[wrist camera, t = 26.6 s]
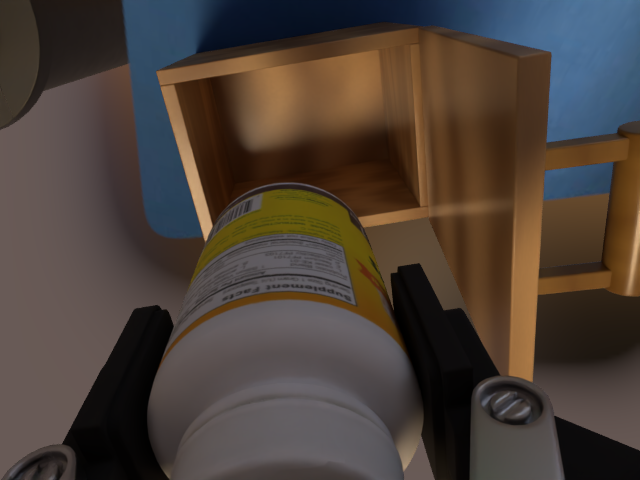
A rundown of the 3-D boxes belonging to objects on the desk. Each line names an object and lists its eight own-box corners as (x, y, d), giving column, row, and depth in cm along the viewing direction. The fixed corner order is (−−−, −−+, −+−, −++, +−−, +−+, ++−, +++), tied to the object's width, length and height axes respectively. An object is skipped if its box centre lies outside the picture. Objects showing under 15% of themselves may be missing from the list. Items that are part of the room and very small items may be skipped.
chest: (229, 190, 41) (207, 252, 31) (195, 53, 36) (155, 71, 26) (396, 163, 41) (433, 216, 30) (384, 21, 36) (423, 25, 25)
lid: (507, 404, 16) (676, 390, 16) (517, 56, 11) (762, 19, 11) (428, 220, 30) (517, 209, 29) (418, 27, 25) (523, 10, 25)
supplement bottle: (353, 324, 18) (417, 651, 9) (204, 311, 17) (106, 645, 8) (383, 186, 16) (513, 432, 7) (212, 164, 15) (89, 402, 6)
